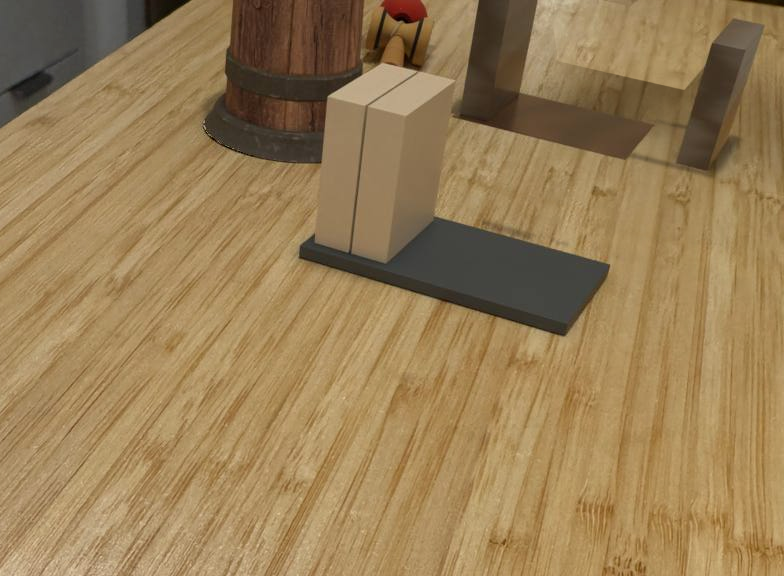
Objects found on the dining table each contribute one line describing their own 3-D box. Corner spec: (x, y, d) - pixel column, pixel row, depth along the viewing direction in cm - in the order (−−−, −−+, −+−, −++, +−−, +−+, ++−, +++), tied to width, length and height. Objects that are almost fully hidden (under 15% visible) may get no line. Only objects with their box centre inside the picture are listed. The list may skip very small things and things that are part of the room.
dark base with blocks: (607, 275, 92) (650, 121, 84) (564, 336, 84) (607, 171, 76) (360, 207, 98) (378, 57, 90) (298, 257, 90) (311, 97, 82)
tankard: (352, 175, 103) (380, -81, 89) (176, 142, 105) (178, -113, 92) (406, 98, 120) (436, -128, 106) (253, 70, 122) (264, -153, 109)
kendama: (428, 108, 122) (439, 35, 133) (426, 47, 117) (437, -23, 128) (357, 112, 123) (373, 40, 134) (351, 52, 118) (369, -18, 130)
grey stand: (729, 153, 115) (772, 23, 107) (705, 190, 107) (749, 53, 99) (489, 95, 123) (512, -31, 114) (449, 126, 114) (471, -7, 106)
